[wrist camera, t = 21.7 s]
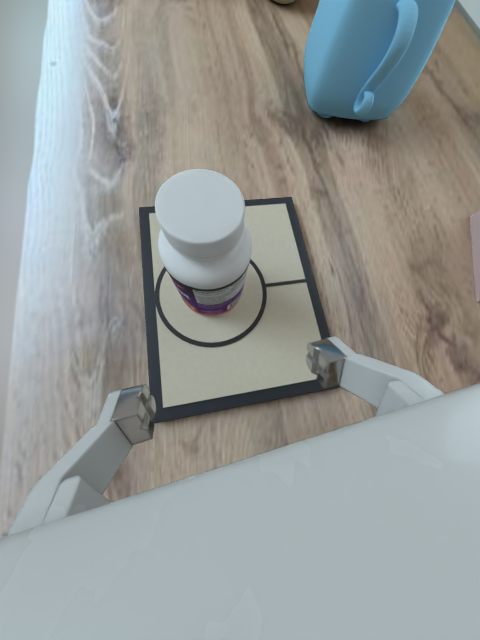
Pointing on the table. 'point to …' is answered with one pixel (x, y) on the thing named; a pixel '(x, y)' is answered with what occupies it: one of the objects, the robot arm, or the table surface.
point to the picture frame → (234, 323)
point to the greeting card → (476, 250)
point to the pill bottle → (204, 239)
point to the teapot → (369, 54)
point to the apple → (284, 1)
